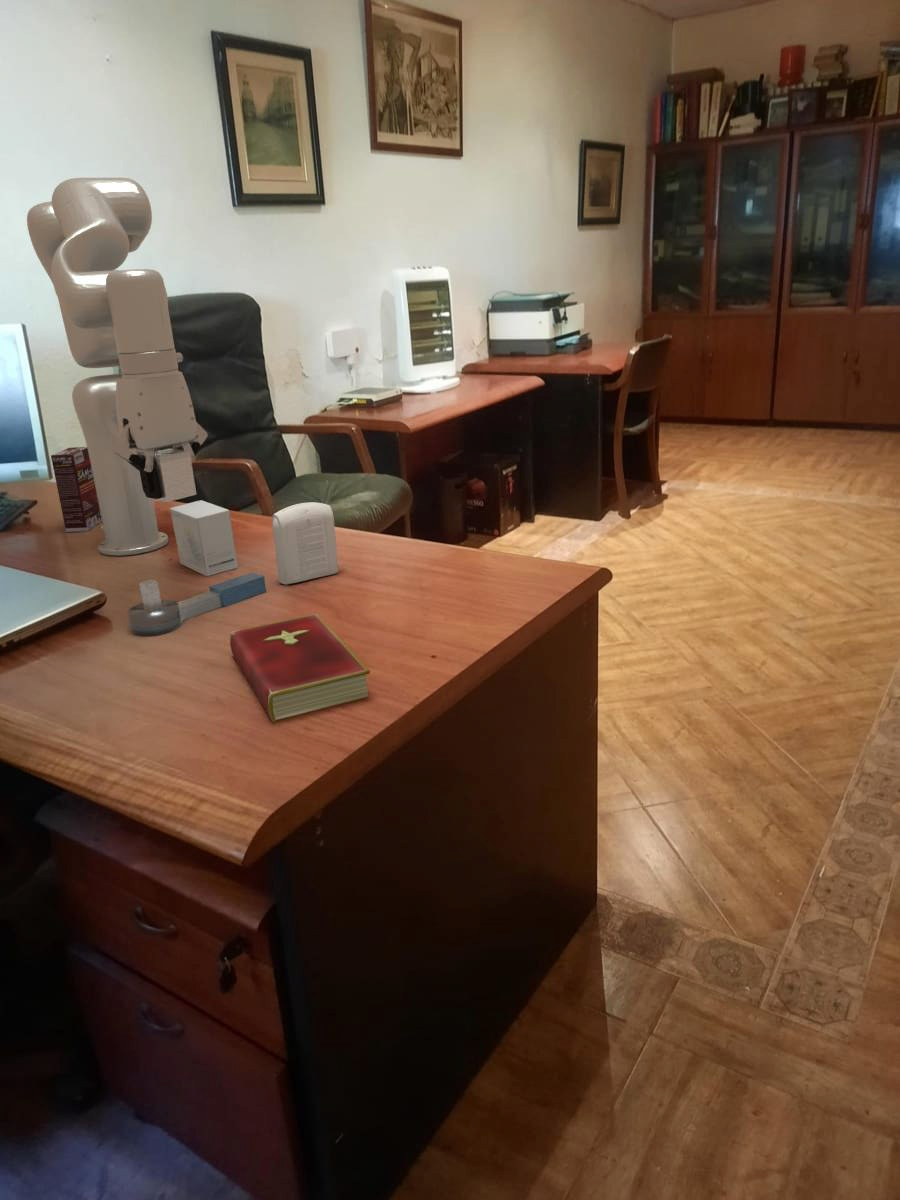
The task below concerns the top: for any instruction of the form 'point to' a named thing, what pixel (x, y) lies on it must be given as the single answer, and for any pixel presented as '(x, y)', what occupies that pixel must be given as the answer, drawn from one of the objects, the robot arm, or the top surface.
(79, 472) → the supplement box
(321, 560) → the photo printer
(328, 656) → the hardcover book
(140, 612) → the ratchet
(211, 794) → the top surface
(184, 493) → the white cube
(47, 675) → the top surface
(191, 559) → the skincare box
